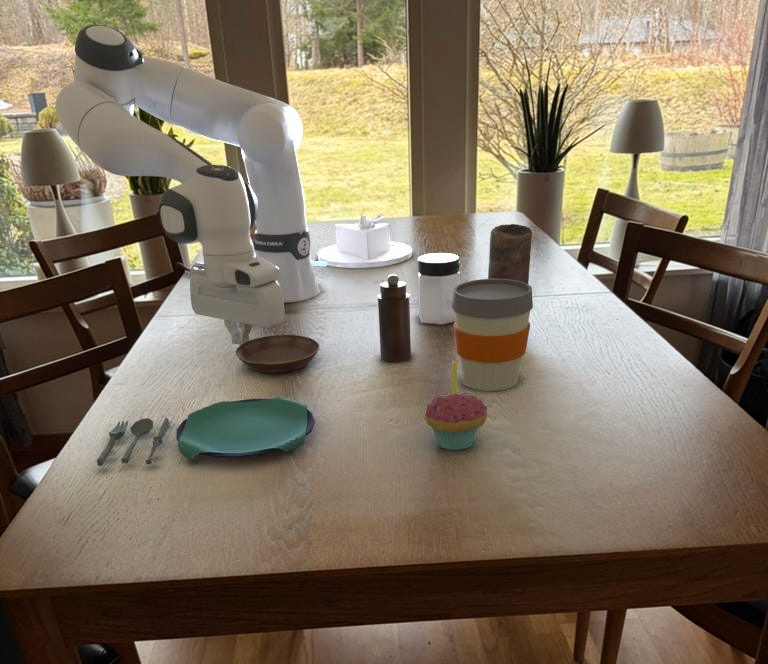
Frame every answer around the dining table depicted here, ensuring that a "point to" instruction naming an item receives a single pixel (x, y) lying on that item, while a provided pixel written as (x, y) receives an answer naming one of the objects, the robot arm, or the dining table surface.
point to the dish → (364, 246)
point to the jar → (437, 287)
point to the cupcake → (455, 416)
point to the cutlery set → (228, 430)
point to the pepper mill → (394, 321)
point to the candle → (510, 252)
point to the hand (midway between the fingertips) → (241, 344)
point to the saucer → (277, 353)
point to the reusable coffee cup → (491, 331)
